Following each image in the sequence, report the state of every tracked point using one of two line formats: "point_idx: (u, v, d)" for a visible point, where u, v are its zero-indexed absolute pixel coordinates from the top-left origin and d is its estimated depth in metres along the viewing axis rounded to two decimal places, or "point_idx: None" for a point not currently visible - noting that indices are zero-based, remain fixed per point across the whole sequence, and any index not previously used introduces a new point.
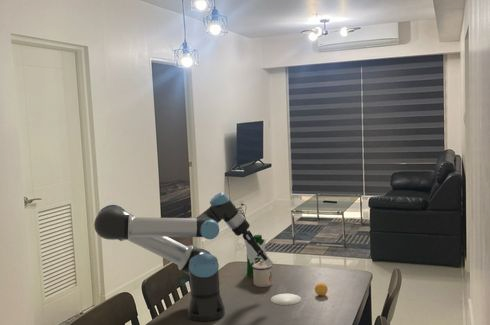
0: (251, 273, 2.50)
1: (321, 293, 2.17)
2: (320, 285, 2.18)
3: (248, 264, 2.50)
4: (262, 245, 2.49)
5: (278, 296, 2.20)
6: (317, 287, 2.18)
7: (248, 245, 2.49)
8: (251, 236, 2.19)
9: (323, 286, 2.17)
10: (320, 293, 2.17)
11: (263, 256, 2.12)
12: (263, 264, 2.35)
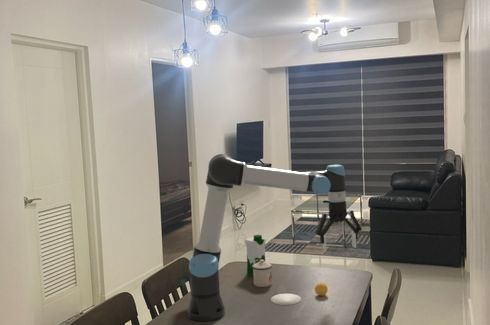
0: (251, 273, 2.50)
1: (321, 293, 2.17)
2: (320, 285, 2.18)
3: (248, 264, 2.50)
4: (262, 245, 2.49)
5: (278, 296, 2.20)
6: (317, 287, 2.18)
7: (248, 245, 2.49)
8: (339, 220, 2.17)
9: (323, 286, 2.17)
10: (320, 293, 2.17)
11: (320, 238, 2.17)
12: (263, 264, 2.35)
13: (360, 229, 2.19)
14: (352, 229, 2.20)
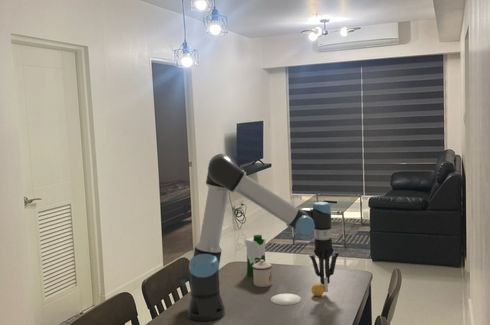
0: (251, 273, 2.50)
1: (318, 294, 2.17)
2: (315, 286, 2.17)
3: (248, 264, 2.50)
4: (262, 245, 2.49)
5: (278, 296, 2.20)
6: (313, 289, 2.17)
7: (248, 245, 2.49)
8: (324, 257, 2.17)
9: (318, 286, 2.17)
10: (317, 294, 2.17)
11: (320, 279, 2.19)
12: (263, 264, 2.35)
13: (332, 273, 2.18)
14: (326, 271, 2.19)
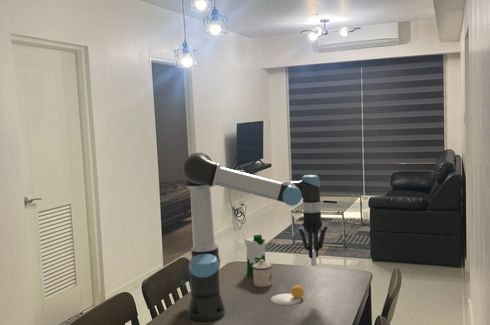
0: (251, 273, 2.50)
1: (301, 291, 2.15)
2: (297, 297, 2.16)
3: (248, 264, 2.50)
4: (262, 245, 2.49)
5: (278, 296, 2.20)
6: (300, 297, 2.17)
7: (248, 245, 2.49)
8: (313, 230, 2.15)
9: (295, 296, 2.16)
10: (301, 292, 2.16)
11: (309, 253, 2.17)
12: (263, 264, 2.35)
13: (320, 247, 2.16)
14: (314, 245, 2.17)
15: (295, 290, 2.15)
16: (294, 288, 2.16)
